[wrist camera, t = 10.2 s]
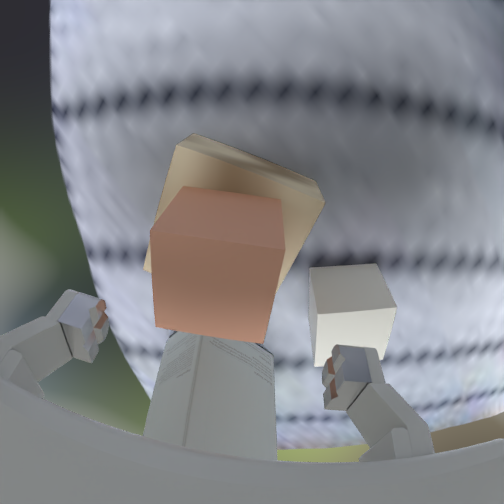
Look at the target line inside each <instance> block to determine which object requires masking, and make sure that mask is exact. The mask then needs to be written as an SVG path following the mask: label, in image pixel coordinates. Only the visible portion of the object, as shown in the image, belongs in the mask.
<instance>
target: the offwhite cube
mask: <svg viewBox="0 0 504 504" xmlns="http://www.w3.org/2000/svg"><path fill="white" fill-rule="evenodd" d="M396 310H397V305H396V303H395V301H394V299H393V297H392V295H391V293H390V290H389V288H388V286H387V284H386V282H385V280H384V278H383V276H382V274H381V272H380V270H379V268H378V266H377V264H376V263H375V264H360V265H345V266H328V267H312V268H309V327H310V335H311V343H312V352H313V360H314V367H320V366H324V364H325V362H326V360H327V359H328V358H330V357H332V353H331V351H332V349H333V347H334V346H335V345H336V344H339V345H348V346H359V347H369V348H375V349H376V350H377V352H378V356H379V360H383V357H384V354H385V350H386V347H387V344H388V340H389V337H390V333H391V330H392V326H393V322H394V318H395V314H396Z"/></svg>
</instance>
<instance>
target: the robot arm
mask: <svg viewBox="0 0 504 504" xmlns="http://www.w3.org/2000/svg"><path fill="white" fill-rule="evenodd" d="M105 309H106V304H105V301H104V300H102V299H99V298H96V297H93V296H90V295H86V294H83V293H79V292H76V291H73V290H70V289H69V290H66V291H65V292H64V294H63V295H62V296H61V297H60V299H59V300H58V301H57V302H56V304H55V305H54V307H53V308H52V309H51V310H50V312H49V313H48V314H47V316H46V317H43V316H42V317H40V318H38V319H36V320H33V321H31V322H29V323H27V324H25V325H23V326H20V327H18V328H16V329H14V330H12V331H10V332H8V333H6V334H4V335H2V336H0V504H504V439H495V440H492V441H489V442H485V443H481V444H478V445H474V446H470V447H465V448H461V449H456V450H452V451H446V452H441V453H436V454H435V452H434V448H433V443H432V440H431V435H430V431H429V427H428V424H427V423H426V422H425V421H424V420H423V419H422V418H421V417H420V416H419V415H418V414H417V413H416V412H415V411H414V409H413V408H412V407H411V406H410V405H409V404H408V403H407V402H406V401H405V400H404V399H403V398H402V397H401V396H400V395H399V394H398V393H397V392H396V390H395V389H394V388H393V387H392V386H391V385H390V384H386V383H385V379H384V375H383V371H382V367H381V363H380V360H379V356H378V352H377V350H376V349H375V348H369V347H359V346H348V345H339V344H336V345H335V346H334V347H333V349H332V351H331V353H332V357H330V358H328V359H327V360H326V362H325V364H324V367H323V371H322V384H323V385H324V386H325V387H326V390H325V392H324V394H323V397H324V408H325V409H328V410H341V411H346V413H347V414H348V416H349V417H350V419H351V420H352V422H353V423H354V424H355V426H356V427H357V429H358V430H359V432H360V433H361V435H362V436H363V438H364V439H365V441H366V442H367V444H368V445H369V447H370V449H369V450H368V451H367V452H365V453H364V454H363V455H362V456H361V457H360V458H359V462H343V463H341V462H340V463H318V462H291V461H277V460H265V459H256V458H247V457H239V456H232V455H226V454H220V453H214V452H208V451H203V450H198V449H193V448H188V447H183V446H179V445H175V444H170V443H166V442H162V441H158V440H155V439H151V438H147V437H144V436H140V435H137V434H133V433H130V432H127V431H124V430H121V429H118V428H115V427H111V426H109V425H106V424H103V423H101V422H98V421H95V420H92V419H90V418H87V417H85V416H82V415H80V414H77V413H75V412H72V411H70V410H67V409H65V408H63V407H61V406H58V405H56V404H54V403H52V402H50V401H47V400H45V399H43V398H44V392H43V391H42V389H41V387H40V386H39V384H38V382H39V381H41V380H42V379H44V378H45V377H46V376H48V375H49V374H51V373H52V372H53V371H55V370H56V369H58V368H59V367H60V366H62V365H63V364H65V363H66V362H68V361H69V360H71V359H72V357H74V358H77V359H80V360H83V361H86V362H90V363H92V362H93V360H94V359H95V357H96V355H97V353H98V351H99V348H98V344H99V343H101V342H103V341H104V339H105V338H106V336H107V332H108V329H109V320H108V316H107V315H106V314H105V313H104V311H105Z"/></svg>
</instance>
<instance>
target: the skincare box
mask: <svg viewBox="0 0 504 504" xmlns="http://www.w3.org/2000/svg"><path fill="white" fill-rule="evenodd" d="M143 436H144V437H147V438H151V439H155V440H158V441H162V442H166V443H170V444H175V445H179V446H183V447H188V448H193V449H198V450H203V451H208V452H214V453H220V454H226V455H232V456H239V457H247V458H256V459H265V460H277V434H276V409H275V386H274V362H273V355H272V354H270V353H269V352H267V351H266V350H264V349H263V348H261V347H260V346H258V345H257V344H255V343H252V342H245V341H237V340H230V339H223V338H217V337H210V336H204V335H198V334H192V333H186V332H181V331H177V332H176V333H175V334H173V335H172V336H171V337H170V338H169V339H168V340H167V342H166V345H165V349H164V352H163V356H162V360H161V363H160V367H159V371H158V375H157V379H156V383H155V387H154V391H153V395H152V399H151V403H150V408H149V411H148V415H147V419H146V424H145V429H144V433H143Z"/></svg>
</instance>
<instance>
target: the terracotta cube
mask: <svg viewBox="0 0 504 504" xmlns="http://www.w3.org/2000/svg"><path fill="white" fill-rule="evenodd" d="M150 249H151V271H152V288H153V302H154V314H155V325H156V327H159V328H165V329H170V330H175V331H181V332H186V333H192V334H198V335H204V336H210V337H217V338H223V339H230V340H237V341H245V342H252V343H260V344H263V343H264V339H265V335H266V331H267V326H268V322H269V318H270V314H271V310H272V306H273V302H274V298H275V293H276V289H277V285H278V281H279V276H280V272H281V268H282V263H283V259H284V254H285V238H284V227H283V216H282V205H281V199H274V198H268V197H261V196H255V195H248V194H241V193H234V192H226V191H219V190H211V189H204V188H195V187H187V186H183V187H182V188H181V189H180V191H179V192H178V193H177V195H176V196H175V197H174V198H173V200H172V201H171V202H170V204H169V205H168V206H167V208H166V209H165V210H164V212H163V213H162V214H161V216H160V217H159V219H158V220H157V221H156V223H155V224H154V225H153V227H152V228H151V230H150Z"/></svg>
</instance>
